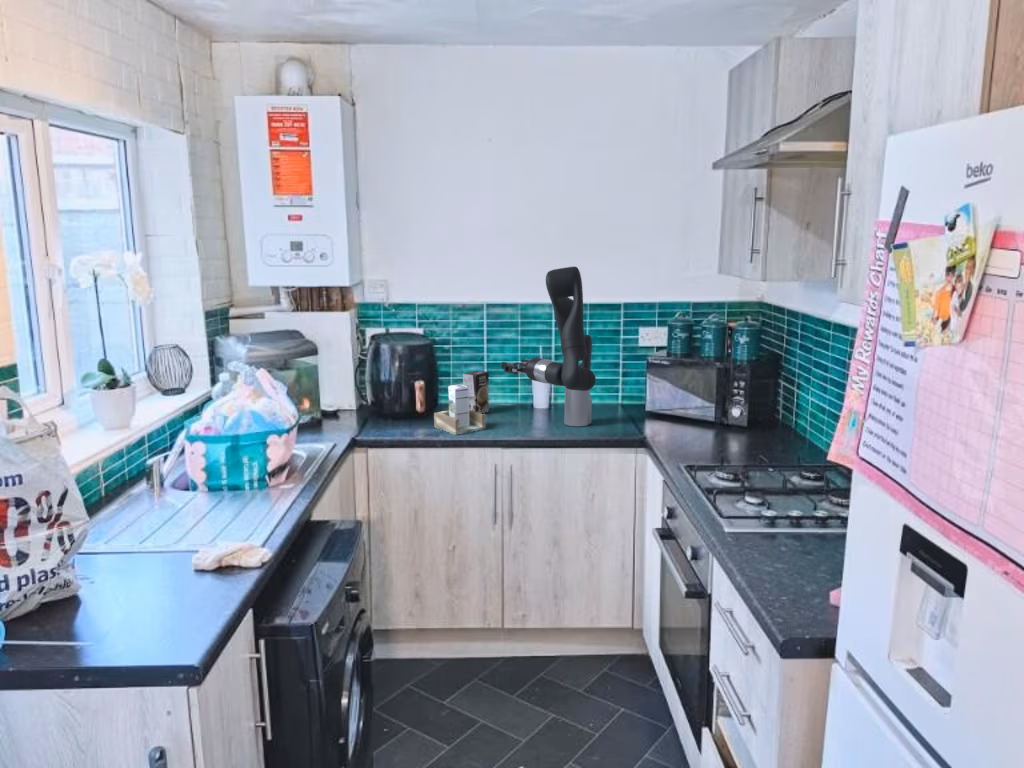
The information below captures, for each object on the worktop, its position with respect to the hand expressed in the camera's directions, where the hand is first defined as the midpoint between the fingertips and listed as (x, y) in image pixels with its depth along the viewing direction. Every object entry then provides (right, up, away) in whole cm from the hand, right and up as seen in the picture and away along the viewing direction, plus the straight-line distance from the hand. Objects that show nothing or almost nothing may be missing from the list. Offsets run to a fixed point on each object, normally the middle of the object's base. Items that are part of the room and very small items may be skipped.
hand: (512, 363), depth 257 cm
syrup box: (-19, -22, +18) cm, 34 cm away
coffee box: (-14, -18, +42) cm, 48 cm away
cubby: (-19, -23, +18) cm, 35 cm away
